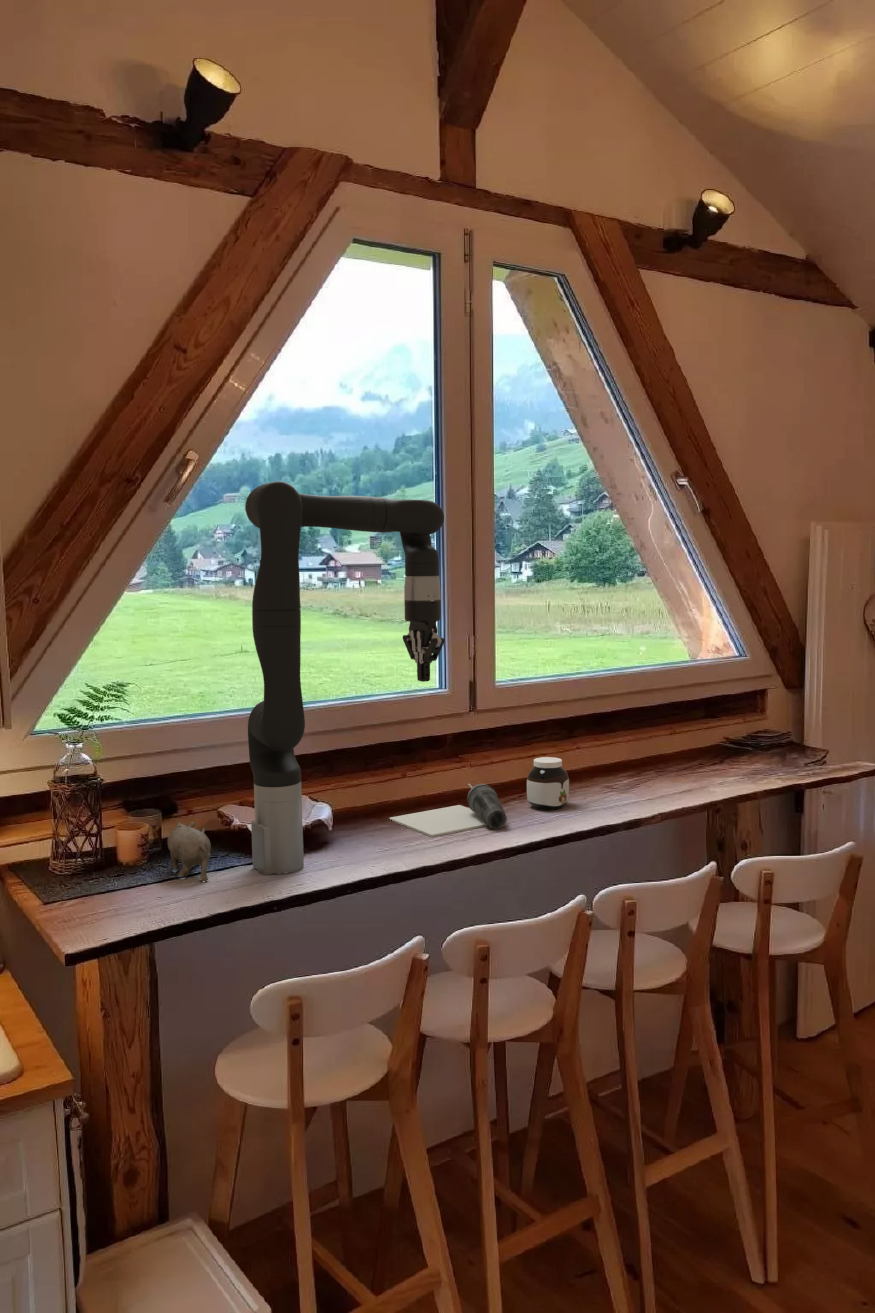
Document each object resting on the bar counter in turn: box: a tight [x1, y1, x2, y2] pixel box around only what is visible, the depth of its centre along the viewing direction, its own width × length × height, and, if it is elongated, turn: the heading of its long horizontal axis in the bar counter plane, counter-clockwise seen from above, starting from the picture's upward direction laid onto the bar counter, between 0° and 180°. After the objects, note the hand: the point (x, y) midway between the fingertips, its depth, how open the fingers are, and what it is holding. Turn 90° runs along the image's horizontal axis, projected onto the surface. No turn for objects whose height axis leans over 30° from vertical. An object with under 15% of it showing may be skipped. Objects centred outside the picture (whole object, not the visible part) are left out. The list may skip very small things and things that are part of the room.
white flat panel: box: [388, 804, 489, 838], centre depth 232 cm, size 20×18×1 cm
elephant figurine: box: [167, 821, 212, 882], centre depth 196 cm, size 8×14×15 cm
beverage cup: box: [467, 783, 507, 830], centre depth 233 cm, size 7×7×20 cm
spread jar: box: [526, 756, 570, 812], centre depth 245 cm, size 12×11×12 cm
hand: (423, 681), depth 210 cm, fingers closed
